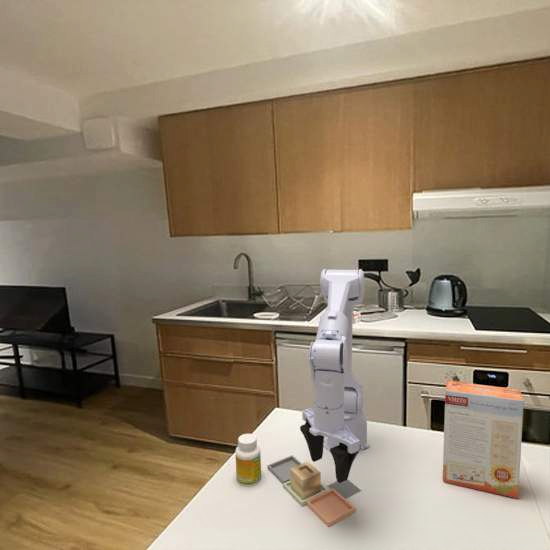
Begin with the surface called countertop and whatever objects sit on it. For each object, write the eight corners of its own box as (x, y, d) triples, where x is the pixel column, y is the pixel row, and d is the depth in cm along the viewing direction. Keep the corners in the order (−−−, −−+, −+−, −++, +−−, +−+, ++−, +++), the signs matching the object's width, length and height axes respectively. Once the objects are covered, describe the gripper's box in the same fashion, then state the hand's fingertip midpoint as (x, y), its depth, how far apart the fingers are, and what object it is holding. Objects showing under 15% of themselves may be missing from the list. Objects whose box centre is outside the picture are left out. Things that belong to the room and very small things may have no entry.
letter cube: (307, 480, 86) (307, 460, 85) (320, 492, 82) (320, 472, 82) (290, 488, 84) (290, 468, 83) (303, 500, 80) (302, 480, 79)
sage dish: (308, 476, 88) (308, 472, 87) (328, 494, 82) (328, 489, 82) (283, 488, 84) (282, 483, 84) (301, 507, 78) (301, 502, 78)
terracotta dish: (332, 492, 82) (332, 488, 82) (355, 513, 77) (355, 508, 76) (306, 506, 79) (306, 501, 79) (328, 528, 73) (328, 523, 73)
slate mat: (345, 478, 87) (345, 477, 87) (361, 491, 82) (361, 490, 82) (327, 487, 84) (327, 486, 84) (343, 501, 80) (343, 500, 80)
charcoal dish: (292, 459, 94) (292, 455, 94) (309, 474, 88) (309, 470, 88) (267, 469, 90) (267, 465, 90) (283, 486, 85) (283, 481, 85)
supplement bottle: (257, 489, 84) (256, 446, 83) (233, 486, 85) (231, 444, 84) (263, 473, 89) (262, 432, 88) (240, 470, 90) (238, 430, 89)
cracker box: (514, 481, 84) (521, 388, 81) (518, 500, 79) (525, 401, 76) (442, 466, 90) (446, 378, 87) (441, 482, 85) (445, 389, 82)
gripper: (289, 393, 78) (290, 457, 80) (337, 424, 66) (337, 499, 68) (317, 385, 82) (318, 446, 84) (368, 413, 70) (368, 484, 72)
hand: (329, 469), depth 76 cm, fingers open, 7 cm apart
